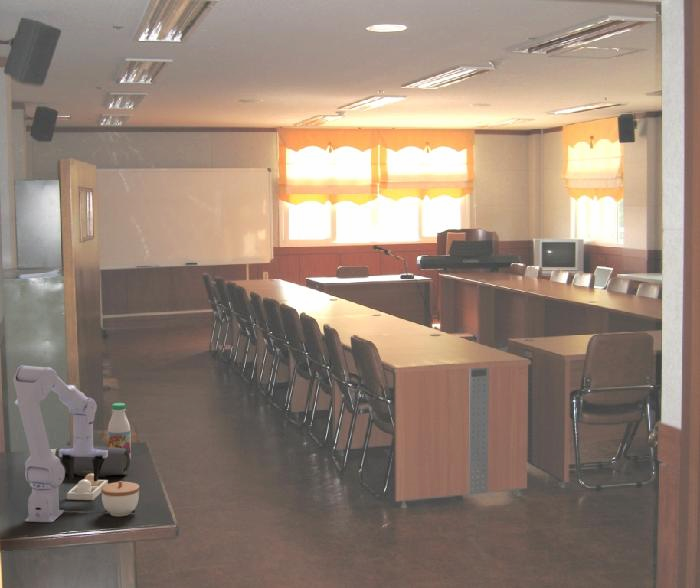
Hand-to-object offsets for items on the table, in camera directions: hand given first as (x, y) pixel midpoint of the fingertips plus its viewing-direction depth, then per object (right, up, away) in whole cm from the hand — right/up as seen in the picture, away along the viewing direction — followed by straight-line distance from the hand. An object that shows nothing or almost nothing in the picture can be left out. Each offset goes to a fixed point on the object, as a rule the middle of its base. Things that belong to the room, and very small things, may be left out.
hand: (83, 480), depth 295 cm
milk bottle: (+1, -2, +42) cm, 42 cm away
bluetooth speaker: (-3, -3, +23) cm, 24 cm away
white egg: (0, -5, +1) cm, 5 cm away
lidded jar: (+14, -7, -13) cm, 21 cm away
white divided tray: (0, -5, +4) cm, 6 cm away
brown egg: (0, -4, +7) cm, 8 cm away
